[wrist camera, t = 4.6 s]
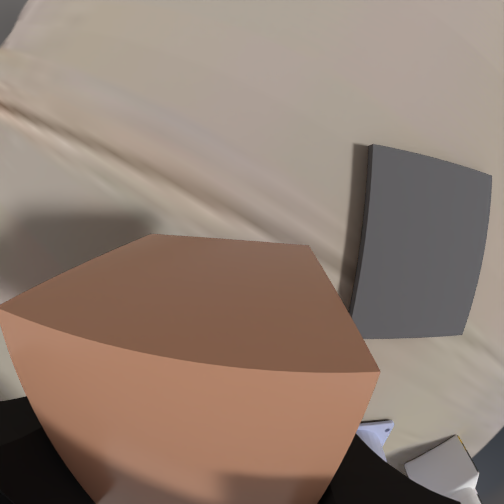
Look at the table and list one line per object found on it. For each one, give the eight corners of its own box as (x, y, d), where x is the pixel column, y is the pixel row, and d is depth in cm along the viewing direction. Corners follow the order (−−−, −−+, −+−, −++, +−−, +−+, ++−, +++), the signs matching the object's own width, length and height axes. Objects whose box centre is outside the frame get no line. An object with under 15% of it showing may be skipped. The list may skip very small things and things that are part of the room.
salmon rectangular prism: (277, 441, 12) (274, 561, 5) (169, 427, 12) (124, 534, 5) (309, 245, 10) (380, 370, 3) (151, 233, 10) (-5, 307, 3)
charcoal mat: (457, 330, 17) (462, 334, 16) (344, 332, 18) (347, 338, 17) (485, 175, 14) (492, 175, 14) (368, 145, 15) (373, 144, 14)
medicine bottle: (457, 455, 21) (486, 516, 9) (410, 481, 22) (430, 547, 11) (457, 432, 20) (495, 503, 8) (403, 463, 21) (429, 542, 9)
